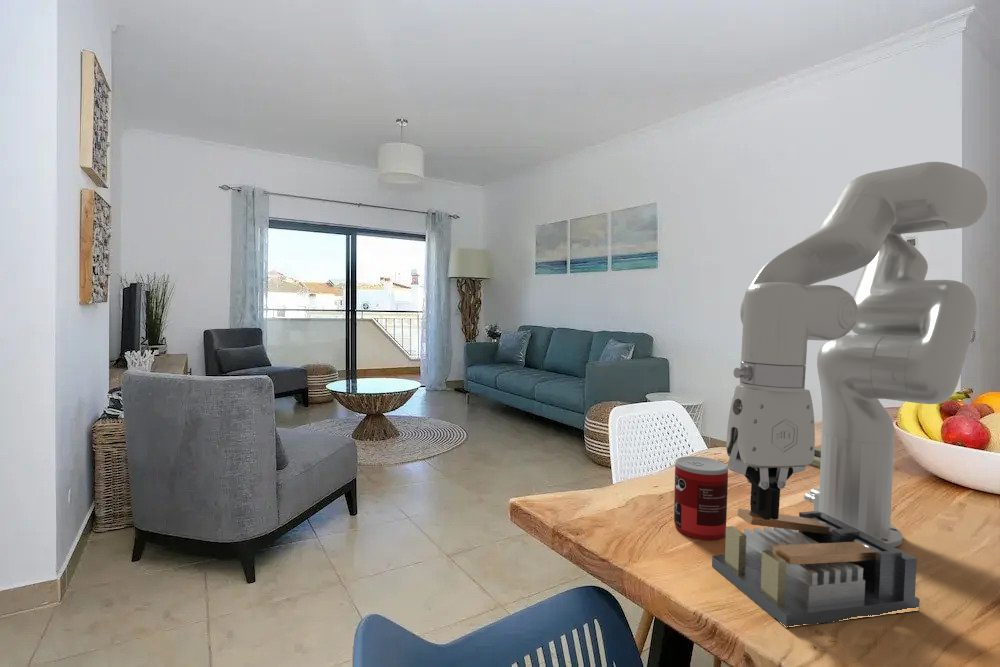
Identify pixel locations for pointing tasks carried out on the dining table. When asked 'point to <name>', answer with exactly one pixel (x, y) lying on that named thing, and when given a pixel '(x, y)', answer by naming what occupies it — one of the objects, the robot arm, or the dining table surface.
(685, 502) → the canned food
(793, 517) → the strap
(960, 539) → the dining table surface
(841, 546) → the near strap
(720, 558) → the heatsink block
